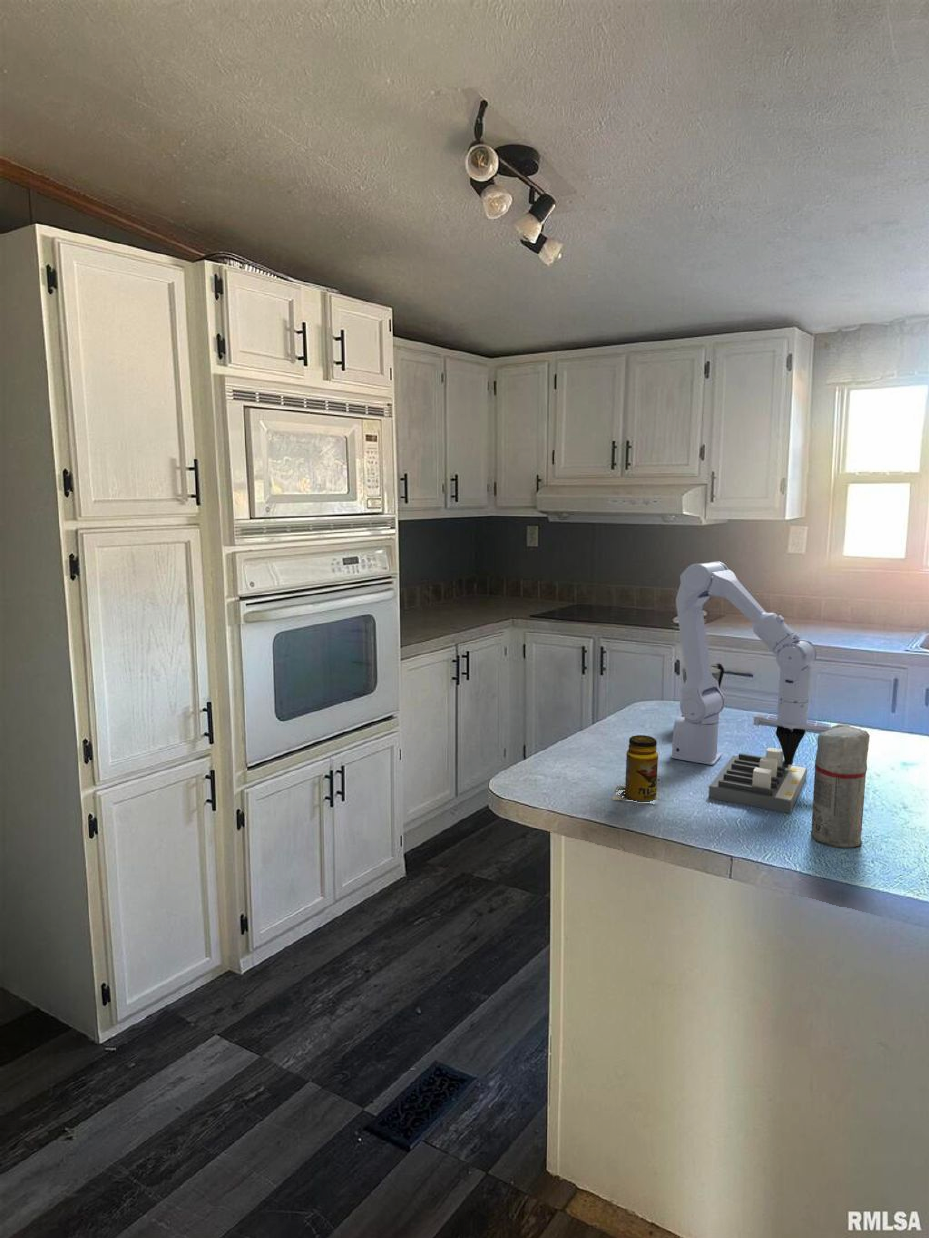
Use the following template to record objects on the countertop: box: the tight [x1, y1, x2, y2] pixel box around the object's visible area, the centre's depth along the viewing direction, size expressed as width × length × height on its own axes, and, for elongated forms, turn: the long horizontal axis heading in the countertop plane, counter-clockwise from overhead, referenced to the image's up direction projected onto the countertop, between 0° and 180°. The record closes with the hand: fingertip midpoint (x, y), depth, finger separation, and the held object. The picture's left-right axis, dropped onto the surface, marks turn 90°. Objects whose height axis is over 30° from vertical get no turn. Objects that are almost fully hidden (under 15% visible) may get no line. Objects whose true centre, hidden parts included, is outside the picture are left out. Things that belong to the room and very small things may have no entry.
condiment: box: [612, 734, 660, 806], centre depth 154 cm, size 7×8×12 cm
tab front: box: [752, 767, 772, 789], centre depth 152 cm, size 3×2×4 cm
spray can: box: [810, 723, 870, 849], centre depth 134 cm, size 8×8×20 cm
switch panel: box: [708, 753, 808, 814], centre depth 159 cm, size 15×21×3 cm
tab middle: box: [759, 756, 778, 778], centre depth 157 cm, size 3×2×4 cm
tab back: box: [765, 746, 784, 767], centre depth 163 cm, size 3×2×4 cm
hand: (788, 763), depth 162 cm, fingers closed
